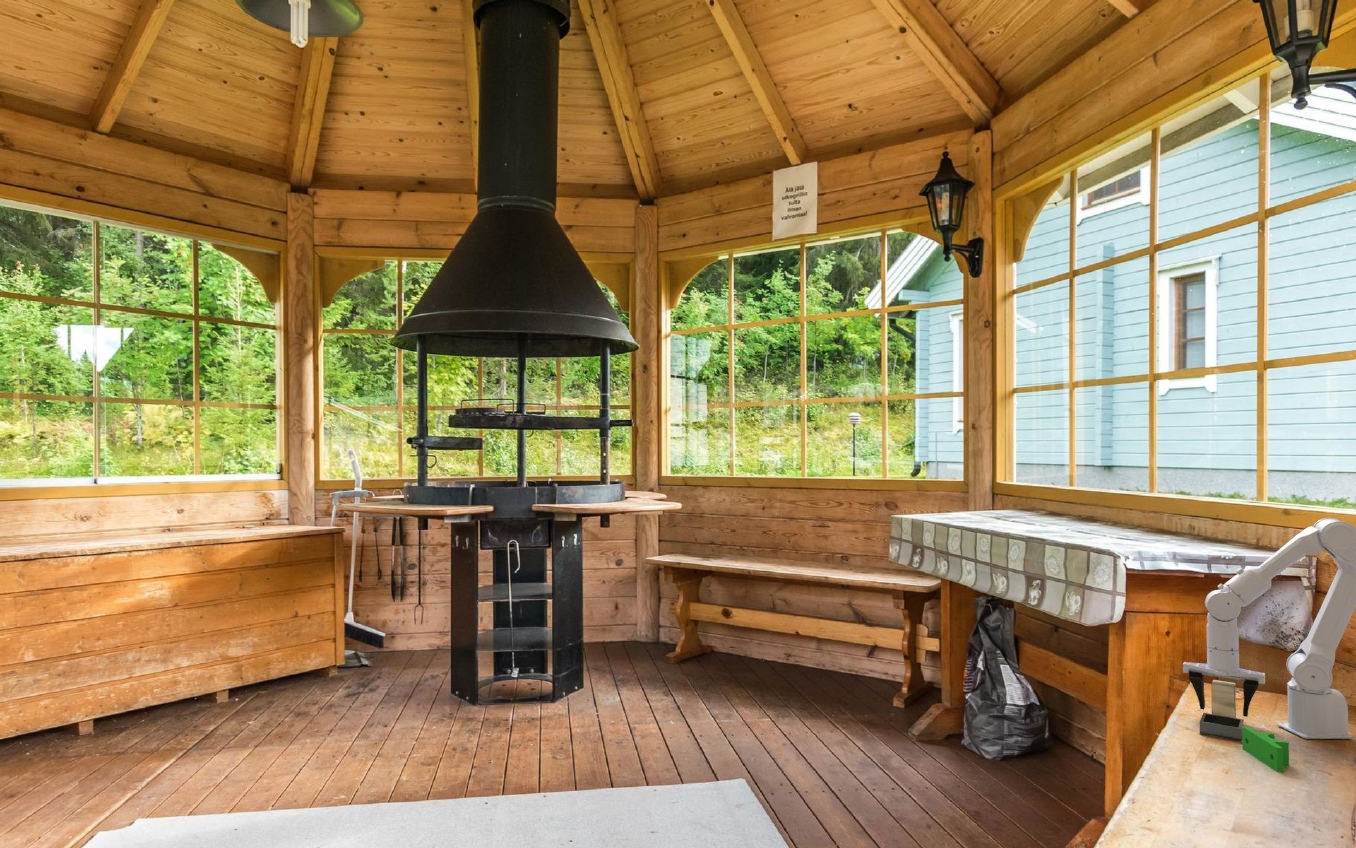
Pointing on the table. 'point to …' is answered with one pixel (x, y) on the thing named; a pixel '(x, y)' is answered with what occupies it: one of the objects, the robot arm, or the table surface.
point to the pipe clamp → (1266, 748)
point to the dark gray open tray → (1221, 726)
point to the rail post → (1223, 698)
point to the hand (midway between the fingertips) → (1223, 711)
